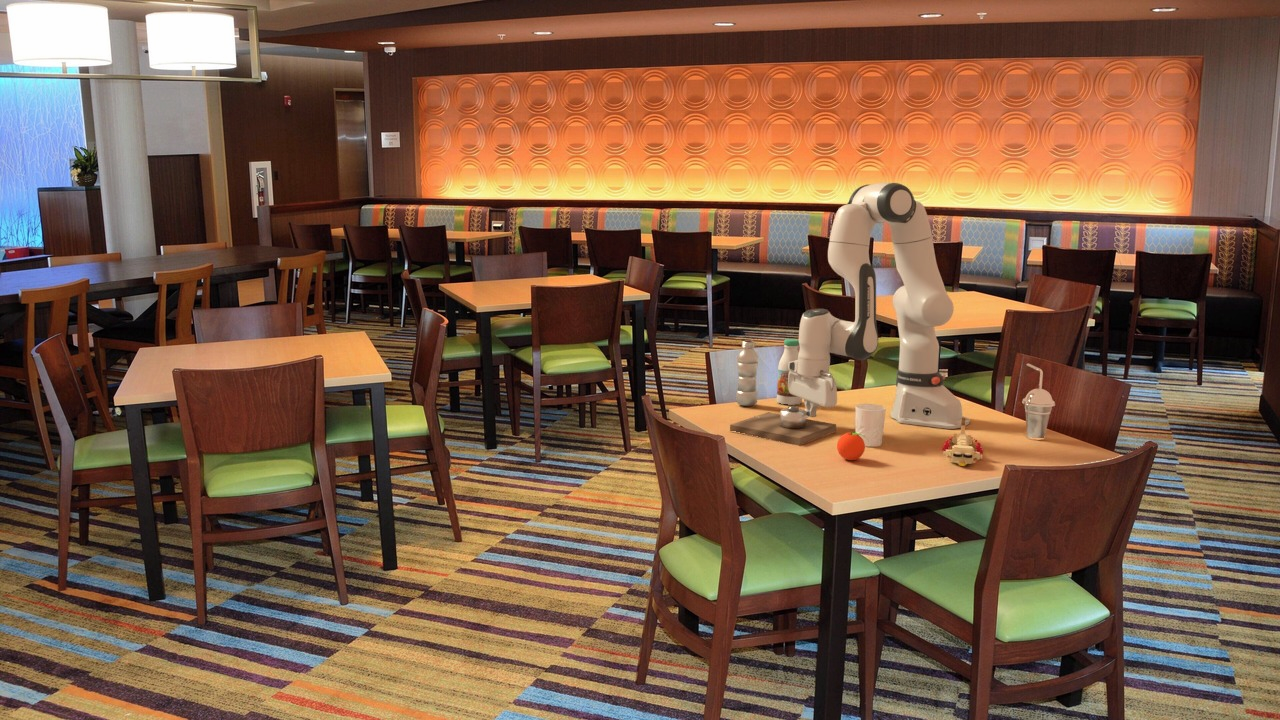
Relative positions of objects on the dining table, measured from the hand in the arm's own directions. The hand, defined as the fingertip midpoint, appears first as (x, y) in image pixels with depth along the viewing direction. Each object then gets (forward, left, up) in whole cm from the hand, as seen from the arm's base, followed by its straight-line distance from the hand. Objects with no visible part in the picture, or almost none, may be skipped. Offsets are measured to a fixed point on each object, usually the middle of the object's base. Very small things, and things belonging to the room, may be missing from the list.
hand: (811, 416), depth 294 cm
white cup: (-20, +3, -4) cm, 20 cm away
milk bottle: (+21, -25, -4) cm, 33 cm away
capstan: (+2, +3, -1) cm, 4 cm away
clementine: (-24, +20, -4) cm, 31 cm away
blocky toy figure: (-43, -2, -4) cm, 43 cm away
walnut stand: (+4, +7, -4) cm, 9 cm away
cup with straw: (-52, -33, -4) cm, 61 cm away
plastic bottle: (+29, -13, -4) cm, 32 cm away
